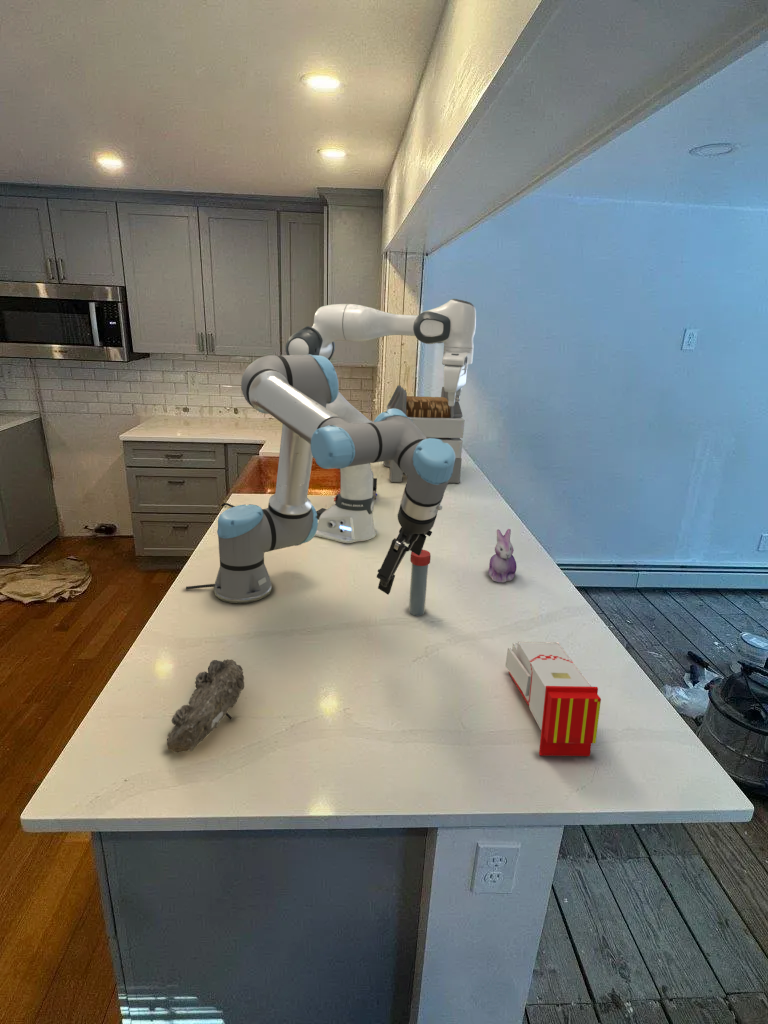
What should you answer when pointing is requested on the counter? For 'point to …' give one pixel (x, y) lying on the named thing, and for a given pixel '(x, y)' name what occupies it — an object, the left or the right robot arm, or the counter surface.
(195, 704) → the fossil
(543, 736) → the toy
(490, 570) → the figurine
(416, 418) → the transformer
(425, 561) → the lid
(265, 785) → the counter surface
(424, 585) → the bottle
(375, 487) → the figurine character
